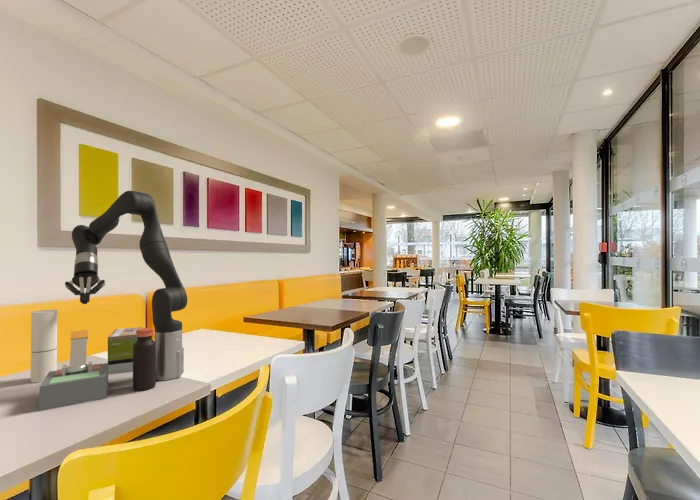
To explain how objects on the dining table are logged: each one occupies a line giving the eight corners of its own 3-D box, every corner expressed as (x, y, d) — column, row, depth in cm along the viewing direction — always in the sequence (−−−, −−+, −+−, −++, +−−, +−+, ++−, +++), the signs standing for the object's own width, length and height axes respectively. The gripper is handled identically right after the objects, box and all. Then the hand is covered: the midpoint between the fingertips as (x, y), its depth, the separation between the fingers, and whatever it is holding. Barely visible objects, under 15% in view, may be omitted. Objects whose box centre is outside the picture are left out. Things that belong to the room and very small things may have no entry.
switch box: (108, 382, 122) (108, 354, 122) (106, 398, 109) (106, 366, 109) (49, 392, 113) (49, 362, 113) (39, 410, 100) (39, 376, 100)
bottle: (157, 387, 117) (158, 329, 117) (135, 393, 112) (135, 332, 113) (152, 382, 122) (153, 326, 122) (130, 387, 117) (131, 329, 118)
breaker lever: (87, 372, 113) (89, 332, 118) (86, 370, 111) (88, 329, 116) (67, 375, 110) (70, 334, 116) (66, 373, 108) (69, 331, 114)
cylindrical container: (54, 374, 131) (54, 309, 131) (58, 378, 126) (59, 310, 126) (28, 379, 125) (29, 311, 125) (32, 384, 121) (33, 313, 121)
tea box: (114, 363, 144) (115, 328, 144) (142, 360, 148) (142, 326, 148) (106, 374, 130) (107, 336, 130) (137, 371, 134) (137, 333, 134)
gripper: (64, 261, 132) (60, 299, 123) (106, 260, 139) (105, 296, 130) (66, 272, 137) (63, 309, 128) (106, 270, 144) (106, 306, 135)
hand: (84, 302), depth 129 cm, fingers closed
